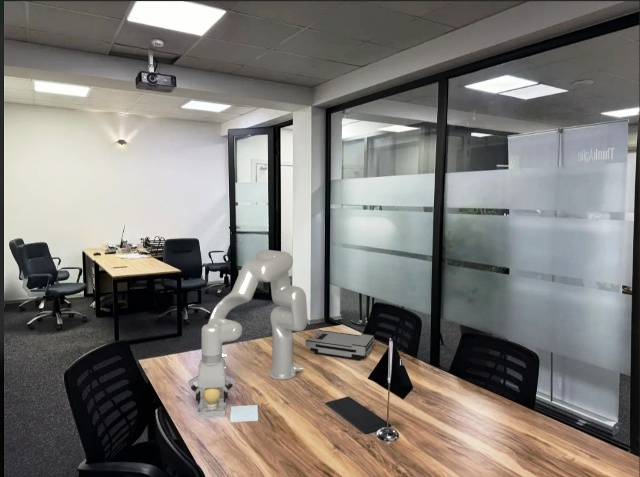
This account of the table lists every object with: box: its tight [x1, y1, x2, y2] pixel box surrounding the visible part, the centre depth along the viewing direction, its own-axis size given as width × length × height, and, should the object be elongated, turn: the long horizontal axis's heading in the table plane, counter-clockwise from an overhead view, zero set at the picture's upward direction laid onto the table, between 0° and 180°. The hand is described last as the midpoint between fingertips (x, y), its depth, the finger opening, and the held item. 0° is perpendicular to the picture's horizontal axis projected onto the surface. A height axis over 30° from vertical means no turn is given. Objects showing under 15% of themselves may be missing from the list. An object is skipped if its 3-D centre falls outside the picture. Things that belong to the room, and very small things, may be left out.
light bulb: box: [203, 388, 222, 410], centre depth 160 cm, size 6×6×10 cm
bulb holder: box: [196, 397, 227, 420], centre depth 161 cm, size 10×10×2 cm
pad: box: [229, 404, 259, 423], centre depth 159 cm, size 10×10×1 cm
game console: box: [304, 329, 375, 362], centre depth 228 cm, size 21×32×8 cm, turn 70°
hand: (212, 401), depth 160 cm, fingers open, 9 cm apart
